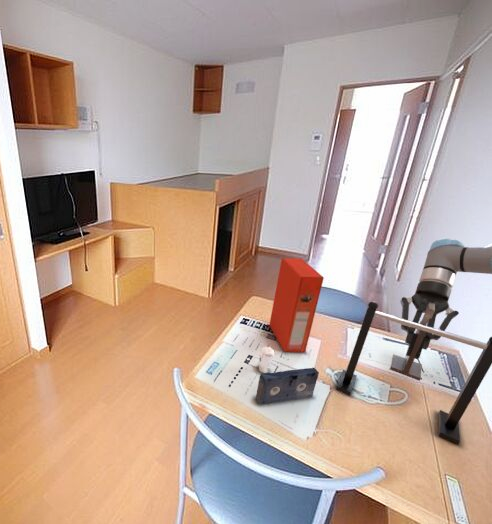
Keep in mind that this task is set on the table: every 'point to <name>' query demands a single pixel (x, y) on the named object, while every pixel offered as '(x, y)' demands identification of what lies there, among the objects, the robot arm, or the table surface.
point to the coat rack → (446, 422)
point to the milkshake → (265, 358)
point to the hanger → (413, 351)
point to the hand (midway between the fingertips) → (412, 356)
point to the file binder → (295, 303)
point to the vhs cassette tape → (286, 385)
